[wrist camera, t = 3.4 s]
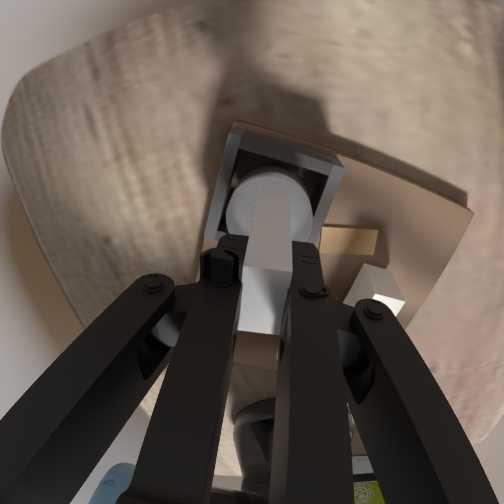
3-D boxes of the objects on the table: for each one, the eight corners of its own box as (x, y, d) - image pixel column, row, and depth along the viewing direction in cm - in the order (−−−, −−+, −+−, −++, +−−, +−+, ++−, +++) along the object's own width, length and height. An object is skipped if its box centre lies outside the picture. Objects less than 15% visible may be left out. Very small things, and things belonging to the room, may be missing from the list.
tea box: (424, 446, 41) (437, 520, 28) (402, 468, 46) (411, 532, 33) (342, 455, 42) (346, 537, 29) (329, 475, 47) (329, 544, 34)
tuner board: (359, 378, 31) (363, 406, 28) (185, 339, 30) (175, 368, 27) (467, 207, 21) (491, 228, 17) (235, 120, 20) (226, 128, 16)
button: (294, 241, 20) (296, 267, 17) (226, 221, 20) (217, 245, 17) (318, 176, 18) (325, 194, 15) (244, 154, 18) (237, 168, 15)
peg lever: (338, 372, 28) (343, 414, 24) (295, 363, 28) (295, 407, 24) (402, 274, 22) (422, 316, 18) (351, 259, 22) (365, 302, 18)
